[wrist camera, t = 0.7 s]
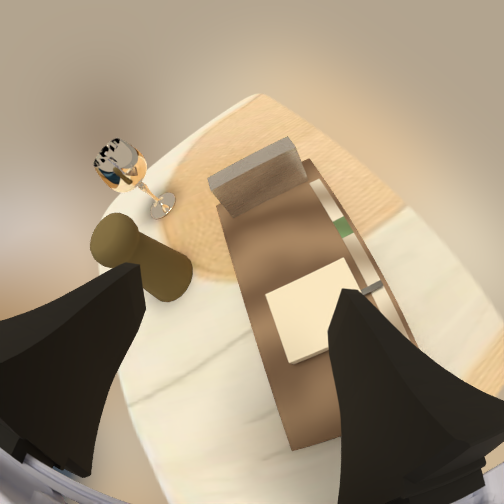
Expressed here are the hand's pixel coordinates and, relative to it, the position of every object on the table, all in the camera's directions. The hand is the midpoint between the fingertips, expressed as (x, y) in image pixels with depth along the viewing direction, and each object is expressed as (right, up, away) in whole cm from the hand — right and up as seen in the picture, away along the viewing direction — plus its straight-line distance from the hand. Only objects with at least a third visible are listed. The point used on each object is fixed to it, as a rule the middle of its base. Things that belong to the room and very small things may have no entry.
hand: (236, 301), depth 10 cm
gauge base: (+6, -1, +15) cm, 16 cm away
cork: (-9, -1, +22) cm, 23 cm away
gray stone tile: (+2, +8, +20) cm, 22 cm away
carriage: (+7, -3, +12) cm, 14 cm away
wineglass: (-12, +8, +28) cm, 32 cm away
